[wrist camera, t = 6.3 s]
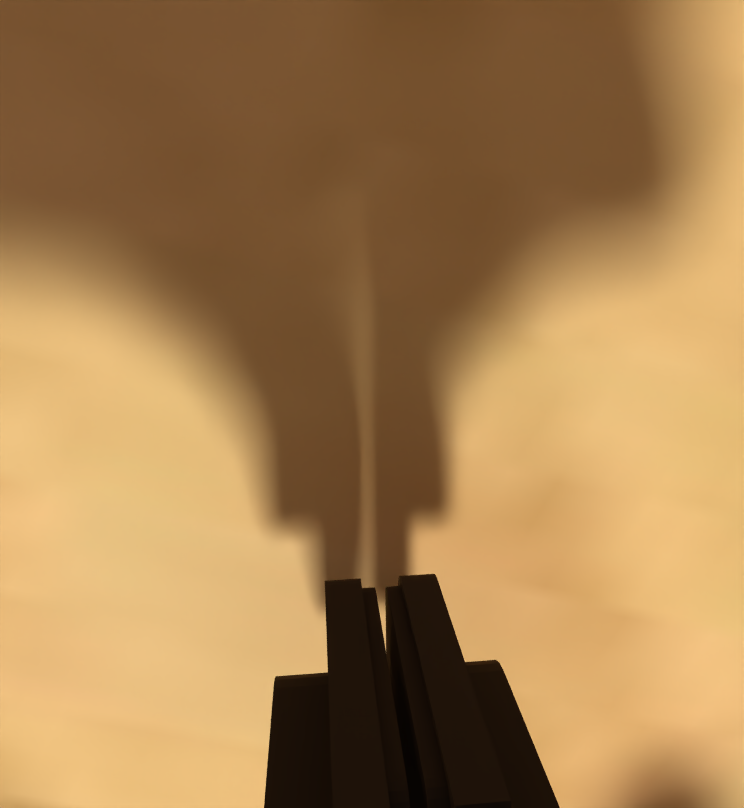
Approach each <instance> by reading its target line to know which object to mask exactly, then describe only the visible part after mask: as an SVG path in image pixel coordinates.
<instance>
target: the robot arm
mask: <svg viewBox="0 0 744 808" xmlns="http://www.w3.org/2000/svg"><path fill="white" fill-rule="evenodd" d="M325 597H326V626H327V656H328V673H316V674H303V675H289V676H276V677H275V681H274V691H273V703H272V716H271V728H270V741H269V753H268V766H267V778H266V791H265V804H264V808H560V807H559V805H558V802H557V800H556V798H555V795H554V793H553V790H552V788H551V785H550V783H549V780H548V778H547V776H546V773H545V771H544V768H543V766H542V763H541V761H540V759H539V756H538V754H537V751H536V749H535V746H534V744H533V741H532V739H531V737H530V734H529V732H528V729H527V727H526V724H525V722H524V720H523V717H522V715H521V712H520V710H519V707H518V705H517V702H516V700H515V698H514V695H513V693H512V690H511V688H510V685H509V683H508V681H507V678H506V676H505V673H504V671H503V669H502V667H501V665H500V663H499V662H498V661H496V660H489V661H476V662H465V661H464V658H463V655H462V652H461V649H460V646H459V643H458V640H457V637H456V634H455V631H454V628H453V625H452V622H451V619H450V616H449V613H448V610H447V607H446V604H445V601H444V598H443V595H442V592H441V589H440V586H439V583H438V580H437V577H436V575H435V574H426V575H410V576H399V580H398V586H391V587H386V650H385V644H384V638H383V632H382V626H381V619H380V613H379V607H378V601H377V595H376V589H375V588H362V586H361V579H348V580H332V581H325Z"/></svg>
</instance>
